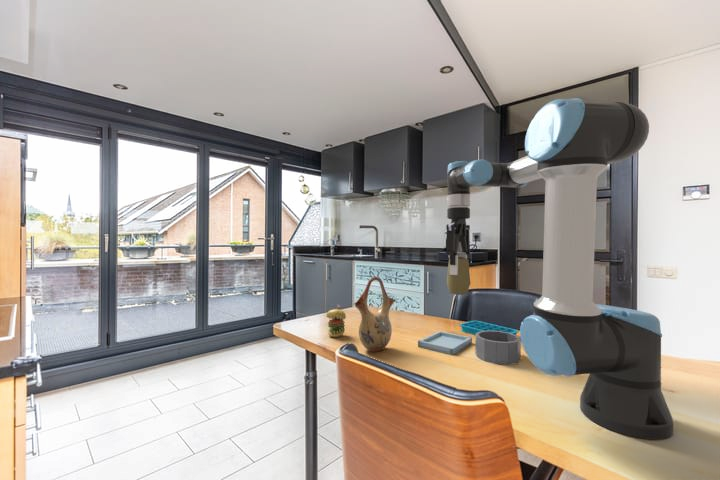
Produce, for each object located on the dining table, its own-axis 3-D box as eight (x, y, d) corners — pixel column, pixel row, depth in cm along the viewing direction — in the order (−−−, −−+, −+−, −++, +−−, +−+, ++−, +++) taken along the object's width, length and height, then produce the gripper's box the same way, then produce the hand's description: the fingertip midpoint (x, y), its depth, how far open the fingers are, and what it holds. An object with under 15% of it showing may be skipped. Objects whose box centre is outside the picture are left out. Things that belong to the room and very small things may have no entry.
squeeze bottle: (473, 292, 114) (473, 241, 114) (467, 296, 108) (467, 242, 107) (450, 290, 119) (450, 241, 118) (443, 294, 112) (443, 242, 112)
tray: (452, 355, 106) (452, 349, 106) (417, 346, 114) (417, 341, 114) (472, 343, 118) (471, 337, 118) (439, 336, 126) (439, 331, 126)
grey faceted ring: (513, 367, 95) (512, 345, 95) (469, 357, 103) (469, 337, 103) (524, 355, 105) (524, 335, 105) (484, 347, 113) (484, 328, 113)
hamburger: (324, 337, 125) (323, 306, 125) (329, 332, 132) (329, 303, 132) (343, 339, 123) (343, 307, 123) (348, 333, 130) (347, 303, 130)
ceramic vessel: (362, 358, 103) (361, 279, 103) (348, 350, 111) (347, 277, 111) (402, 349, 111) (402, 276, 111) (387, 342, 119) (387, 274, 119)
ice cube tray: (475, 327, 140) (475, 320, 140) (520, 338, 124) (520, 330, 124) (457, 331, 134) (457, 324, 134) (503, 344, 117) (503, 336, 117)
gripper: (460, 209, 122) (460, 270, 123) (435, 206, 108) (434, 275, 108) (480, 208, 117) (479, 272, 118) (456, 204, 103) (456, 277, 103)
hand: (458, 273), depth 113 cm, fingers closed on squeeze bottle, 6 cm apart
